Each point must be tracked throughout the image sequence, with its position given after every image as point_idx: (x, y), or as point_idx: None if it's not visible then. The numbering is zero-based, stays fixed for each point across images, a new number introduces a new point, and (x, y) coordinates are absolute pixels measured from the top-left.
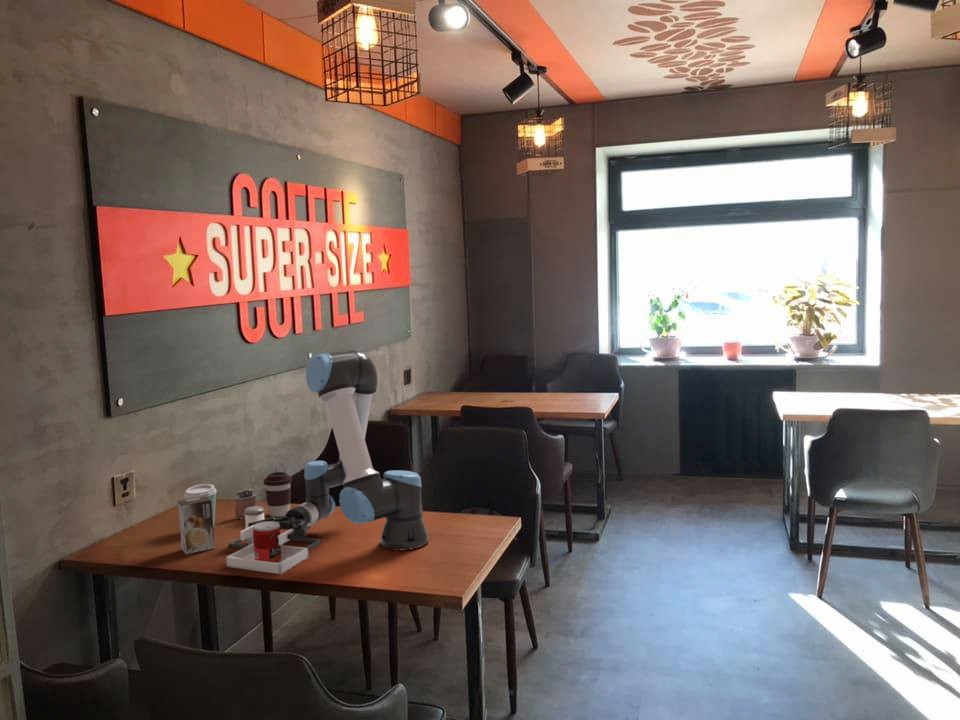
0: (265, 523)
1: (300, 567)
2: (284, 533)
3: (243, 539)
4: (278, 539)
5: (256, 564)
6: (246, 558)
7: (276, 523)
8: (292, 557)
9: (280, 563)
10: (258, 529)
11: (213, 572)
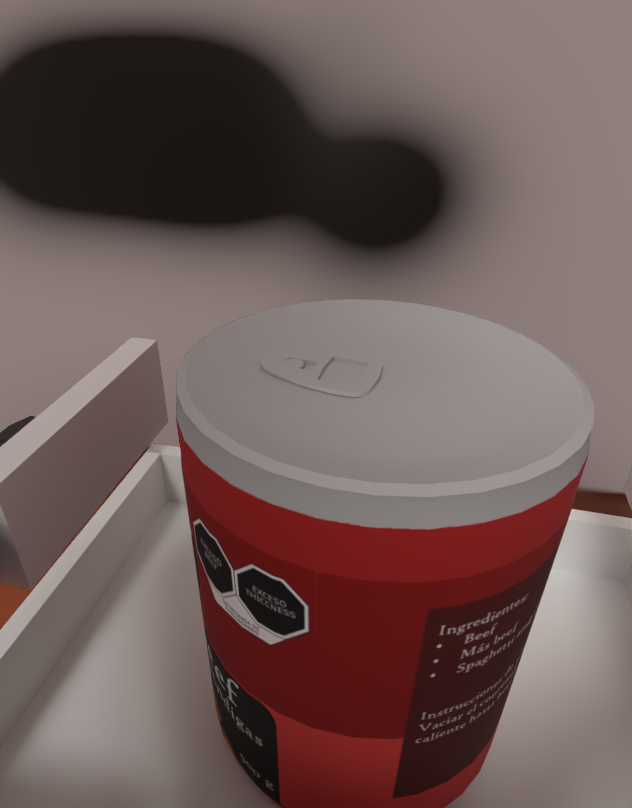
0: (474, 453)
1: (16, 608)
2: (93, 375)
3: (627, 488)
4: (161, 375)
5: None
6: (616, 733)
7: (250, 434)
8: (65, 553)
9: (152, 450)
10: (398, 306)
11: (626, 503)
